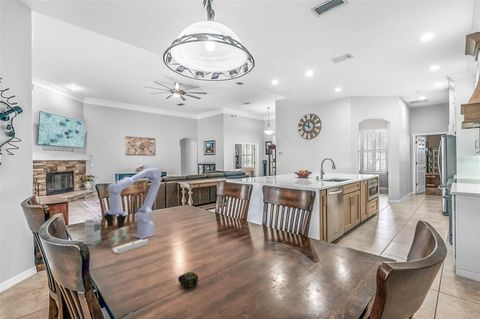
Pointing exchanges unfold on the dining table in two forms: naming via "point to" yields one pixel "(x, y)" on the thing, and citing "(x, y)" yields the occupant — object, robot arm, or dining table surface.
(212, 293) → the dining table surface
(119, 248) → the bar
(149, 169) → the robot arm
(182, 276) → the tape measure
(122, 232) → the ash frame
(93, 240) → the syrup box
